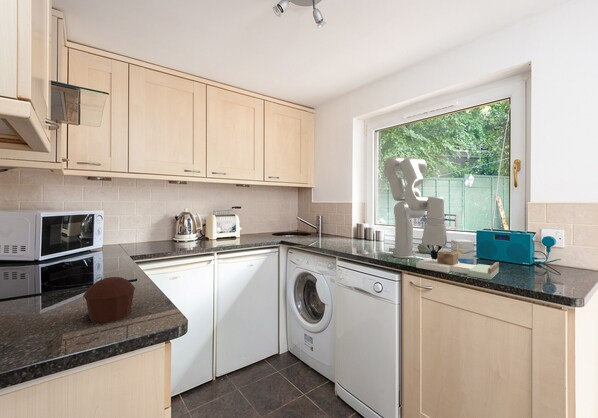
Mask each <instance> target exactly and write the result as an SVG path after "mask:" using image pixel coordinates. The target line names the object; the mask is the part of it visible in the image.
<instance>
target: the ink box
mask: <svg viewBox="0 0 598 418" xmlns="http://www.w3.org/2000/svg"><path fill="white" fill-rule="evenodd" d="M474 245H475V242H474V241H473V240H469V239H459V238H456V239H451V240H450V252H455V253H458V261H459V263H464V264H471V265H474V258H475V256H474V253H475V252H474V250H475V248H474Z"/></svg>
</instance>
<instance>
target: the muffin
mask: <svg viewBox="0 0 598 418" xmlns="http://www.w3.org/2000/svg"><path fill="white" fill-rule="evenodd" d="M135 290H136V287H135V286H134V285H133V283H132V282H130V280H128V279H126V278H124V277H121V276H120V277H119V276H108V277H106V278H102V279H99V280H98V281H96V282H94V283H93V284H92V285H90V286H89V287H88V289H86V291H85V292H84V294H83V295H82V296H83V298H84V299H85V302H86V307H87V310H88V317H89V320H90V321H91V322H92V323H95V324H96V323H99V324H104V323H106V324H107V323H110V322H116V321H118V320H121V319H123V318H127V317H128V316H129V314H130V313H131V312H132V311H131V310H132V305H133V299H134V293H135Z"/></svg>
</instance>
